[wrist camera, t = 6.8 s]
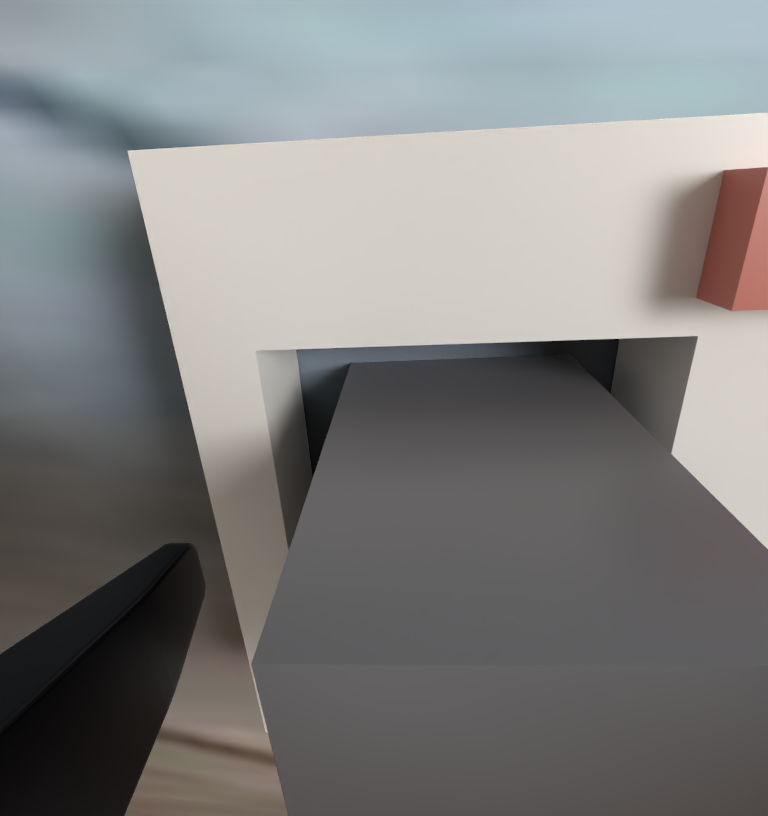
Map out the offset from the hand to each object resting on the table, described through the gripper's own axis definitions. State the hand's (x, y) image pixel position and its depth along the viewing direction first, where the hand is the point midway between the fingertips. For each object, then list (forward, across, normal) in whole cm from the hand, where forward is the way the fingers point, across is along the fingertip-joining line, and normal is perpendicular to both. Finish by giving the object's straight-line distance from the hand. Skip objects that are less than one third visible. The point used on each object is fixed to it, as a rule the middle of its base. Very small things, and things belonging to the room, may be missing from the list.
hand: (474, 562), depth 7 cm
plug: (+4, 0, 0) cm, 4 cm away
